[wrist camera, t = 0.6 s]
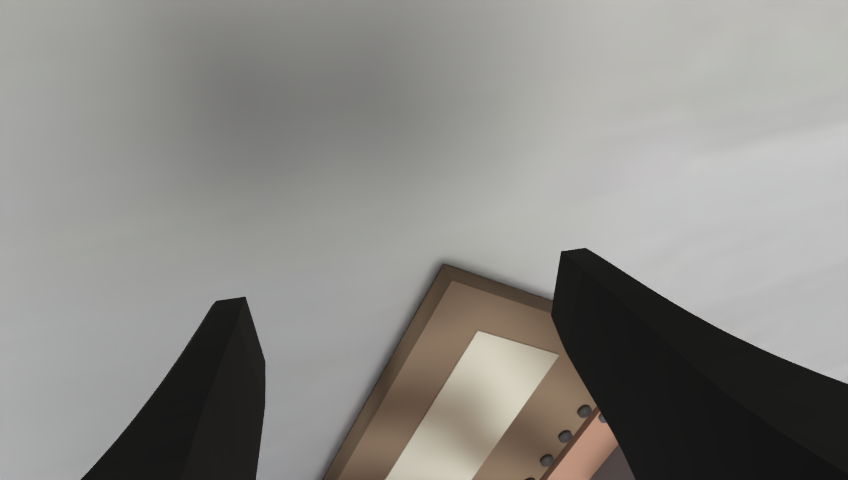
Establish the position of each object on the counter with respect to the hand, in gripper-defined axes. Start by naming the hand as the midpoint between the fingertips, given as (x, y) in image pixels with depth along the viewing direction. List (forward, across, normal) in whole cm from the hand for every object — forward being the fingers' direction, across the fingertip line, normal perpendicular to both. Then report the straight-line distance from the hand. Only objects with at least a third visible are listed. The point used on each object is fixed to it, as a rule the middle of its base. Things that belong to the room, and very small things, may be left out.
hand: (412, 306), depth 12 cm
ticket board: (+8, -4, +16) cm, 19 cm away
